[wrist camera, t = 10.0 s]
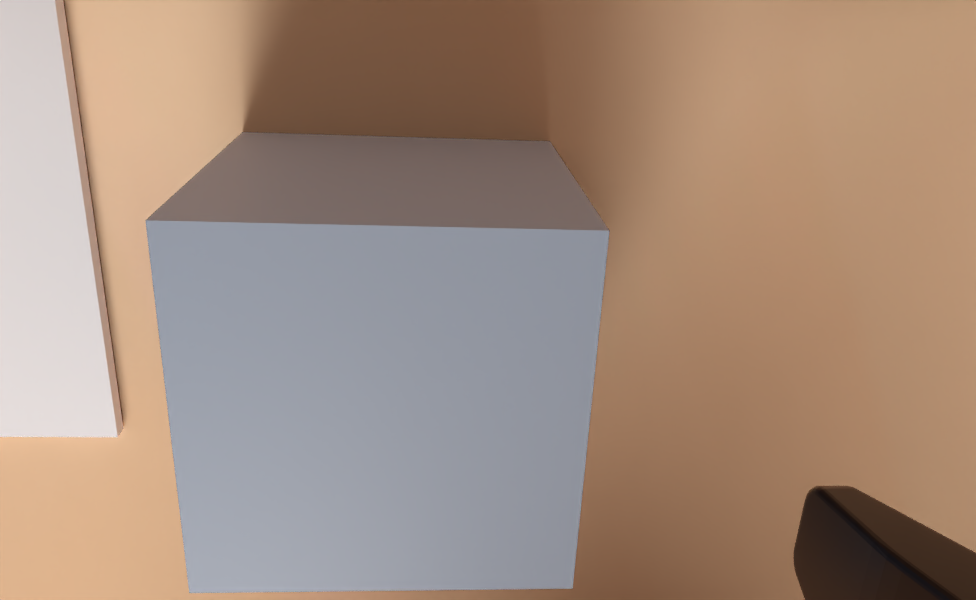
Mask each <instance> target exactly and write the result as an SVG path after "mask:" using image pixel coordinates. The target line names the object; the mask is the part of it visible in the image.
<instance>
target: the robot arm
mask: <svg viewBox="0 0 976 600" xmlns="http://www.w3.org/2000/svg"><path fill="white" fill-rule="evenodd" d="M794 567H795V572H796V575H797V578H798V581H799V584H800V587H801V590H802V592H803V595H804V598H805V600H976V553H975V552H973V551H971V550H969V549H967V548H966V547H964V546H962V545H960V544H958V543H956V542H954V541H952V540H951V539H949V538H947V537H945V536H943V535H941V534H939V533H938V532H936V531H934V530H932V529H930V528H928V527H926V526H925V525H923V524H921V523H919V522H917V521H915V520H913V519H911V518H910V517H908V516H906V515H904V514H902V513H900V512H898V511H897V510H895V509H893V508H891V507H889V506H887V505H885V504H884V503H882V502H880V501H878V500H876V499H874V498H872V497H870V496H869V495H867V494H865V493H863V492H861V491H859V490H857V489H855V488H853V487H849V486H816V487H814V488H812V489H811V490H810V491H809V492H808V494H807V496H806V499H805V502H804V507H803V511H802V516H801V520H800V525H799V529H798V534H797V538H796V543H795V547H794Z"/></svg>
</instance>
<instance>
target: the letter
mask: <svg viewBox="0 0 976 600" xmlns="http://www.w3.org/2000/svg"><path fill="white" fill-rule="evenodd" d="M122 430H123V422H122V415H121V407H120V400H119V393H118V386H117V379H116V372H115V365H114V358H113V351H112V343H111V336H110V329H109V322H108V315H107V308H106V301H105V294H104V286H103V279H102V272H101V265H100V258H99V251H98V244H97V237H96V229H95V222H94V215H93V208H92V201H91V194H90V187H89V180H88V172H87V165H86V158H85V151H84V144H83V137H82V130H81V123H80V116H79V108H78V101H77V94H76V87H75V80H74V73H73V66H72V59H71V51H70V44H69V37H68V30H67V23H66V16H65V9H64V2H63V0H0V437H118V436H119V435H120V433H121V431H122Z"/></svg>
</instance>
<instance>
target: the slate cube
mask: <svg viewBox="0 0 976 600" xmlns="http://www.w3.org/2000/svg"><path fill="white" fill-rule="evenodd" d="M146 229H147V237H148V246H149V254H150V263H151V271H152V280H153V288H154V297H155V305H156V314H157V322H158V331H159V339H160V348H161V356H162V365H163V373H164V382H165V390H166V399H167V407H168V416H169V424H170V433H171V441H172V450H173V458H174V467H175V475H176V484H177V492H178V501H179V509H180V518H181V526H182V535H183V543H184V552H185V560H186V569H187V577H188V586H189V593H235V592H323V591H411V590H498V589H573V580H574V570H575V561H576V551H577V541H578V531H579V522H580V512H581V502H582V493H583V483H584V473H585V463H586V454H587V444H588V434H589V425H590V415H591V405H592V395H593V386H594V376H595V366H596V357H597V347H598V337H599V327H600V318H601V308H602V298H603V289H604V279H605V269H606V259H607V250H608V240H609V229H608V228H607V226H606V225H605V223H604V222H603V220H602V219H601V217H600V216H599V214H598V213H597V211H596V210H595V208H594V207H593V205H592V204H591V202H590V201H589V199H588V198H587V196H586V195H585V193H584V192H583V190H582V189H581V187H580V186H579V184H578V183H577V181H576V180H575V178H574V177H573V175H572V174H571V172H570V171H569V169H568V168H567V166H566V165H565V163H564V162H563V160H562V159H561V157H560V156H559V154H558V153H557V151H556V150H555V148H554V147H553V145H552V144H551V142H550V141H523V140H490V139H457V138H423V137H390V136H357V135H324V134H291V133H258V132H242V133H241V134H240V135H239V136H238V137H237V138H236V139H234V140H233V141H232V142H231V143H230V144H229V145H228V146H227V147H226V148H225V149H223V150H222V151H221V152H220V153H219V154H218V155H217V156H216V157H215V158H214V159H212V160H211V161H210V162H209V163H208V164H207V165H206V166H205V167H204V168H203V169H201V170H200V171H199V172H198V173H197V174H196V175H195V176H194V177H193V178H192V179H190V180H189V181H188V182H187V183H186V184H185V185H184V186H183V187H182V188H181V189H179V190H178V191H177V192H176V193H175V194H174V195H173V196H172V197H171V198H170V199H169V200H167V201H166V202H165V203H164V204H163V205H162V206H161V207H160V208H159V209H158V210H156V211H155V212H154V213H153V214H152V215H151V216H150V217H149V218H148V219H147V220H146Z"/></svg>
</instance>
